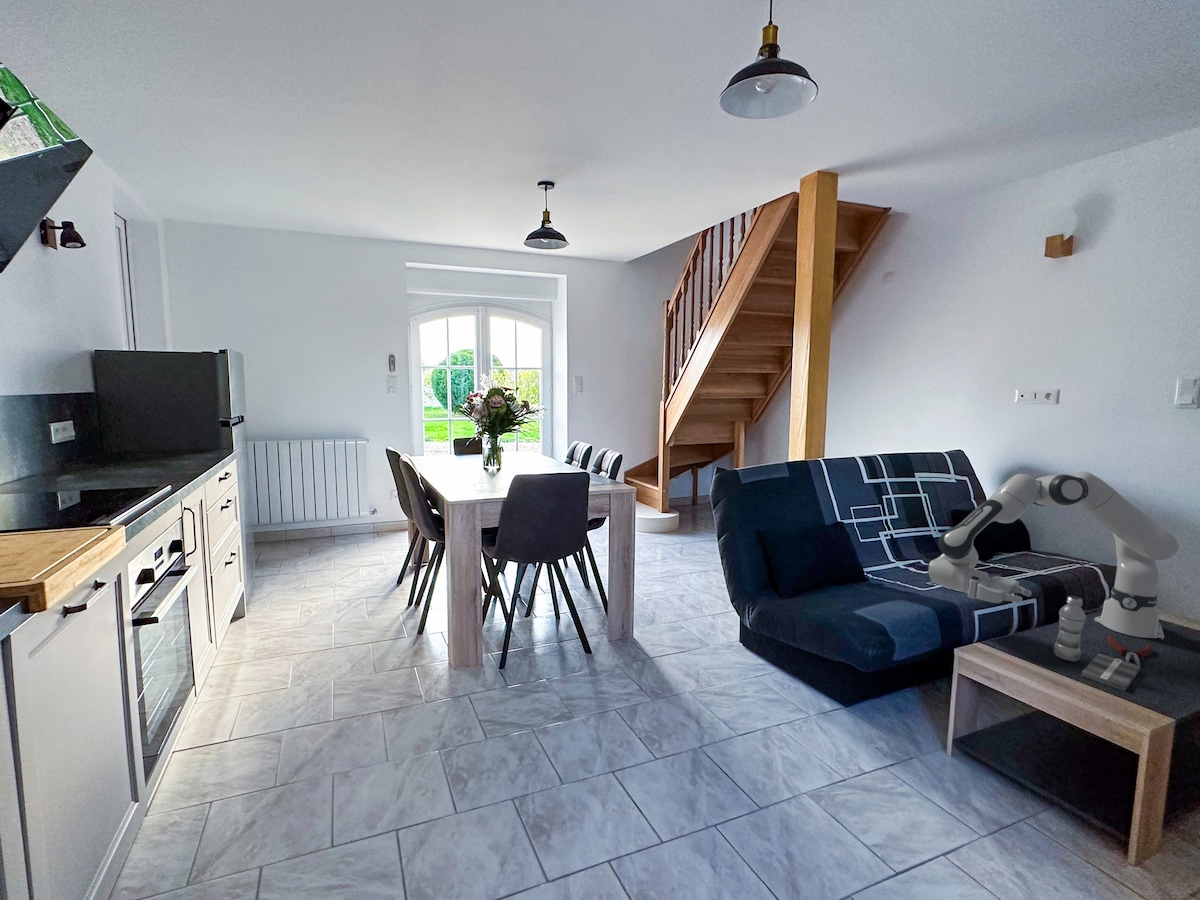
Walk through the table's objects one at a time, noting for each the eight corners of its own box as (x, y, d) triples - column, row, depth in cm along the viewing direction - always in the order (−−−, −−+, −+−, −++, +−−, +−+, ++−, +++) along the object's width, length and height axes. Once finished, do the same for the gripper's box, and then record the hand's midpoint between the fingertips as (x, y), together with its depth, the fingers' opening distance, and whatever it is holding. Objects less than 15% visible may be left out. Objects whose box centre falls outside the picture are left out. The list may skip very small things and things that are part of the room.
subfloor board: (1097, 657, 190) (1098, 652, 190) (1139, 670, 183) (1140, 665, 182) (1081, 676, 178) (1081, 671, 177) (1125, 691, 170) (1126, 685, 170)
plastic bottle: (1072, 665, 184) (1082, 603, 181) (1048, 656, 190) (1057, 595, 187) (1083, 661, 187) (1093, 600, 184) (1059, 652, 193) (1068, 592, 190)
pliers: (1108, 661, 189) (1110, 653, 189) (1105, 640, 205) (1106, 633, 204) (1157, 674, 182) (1159, 665, 182) (1150, 651, 198) (1152, 643, 197)
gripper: (988, 586, 213) (1034, 599, 203) (966, 598, 200) (1014, 613, 190) (990, 569, 212) (1037, 581, 202) (969, 580, 199) (1017, 594, 189)
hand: (1026, 597), depth 196 cm, fingers open, 8 cm apart
